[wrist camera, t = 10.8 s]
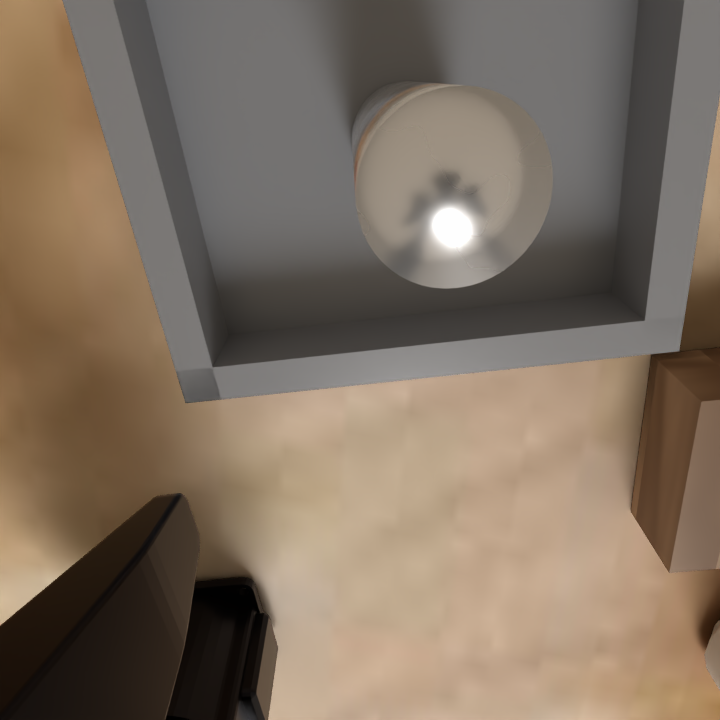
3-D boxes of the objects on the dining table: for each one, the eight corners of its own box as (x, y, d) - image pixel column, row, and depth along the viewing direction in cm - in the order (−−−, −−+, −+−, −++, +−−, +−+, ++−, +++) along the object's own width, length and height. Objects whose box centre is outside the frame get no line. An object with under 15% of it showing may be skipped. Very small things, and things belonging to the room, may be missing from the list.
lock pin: (357, 198, 18) (366, 298, 10) (345, 87, 16) (344, 99, 8) (457, 186, 18) (549, 277, 10) (453, 74, 16) (557, 72, 8)
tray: (210, 355, 22) (185, 403, 18) (88, -99, 15) (18, -144, 12) (630, 309, 21) (679, 351, 18) (685, -190, 14) (776, -264, 11)
